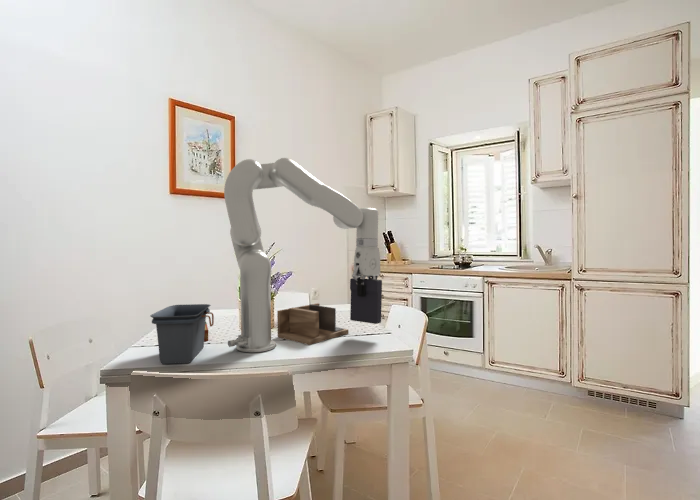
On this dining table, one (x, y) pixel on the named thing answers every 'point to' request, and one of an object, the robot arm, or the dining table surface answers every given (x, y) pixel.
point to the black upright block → (366, 302)
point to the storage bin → (181, 331)
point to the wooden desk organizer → (308, 324)
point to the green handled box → (206, 332)
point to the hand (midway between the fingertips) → (366, 294)
